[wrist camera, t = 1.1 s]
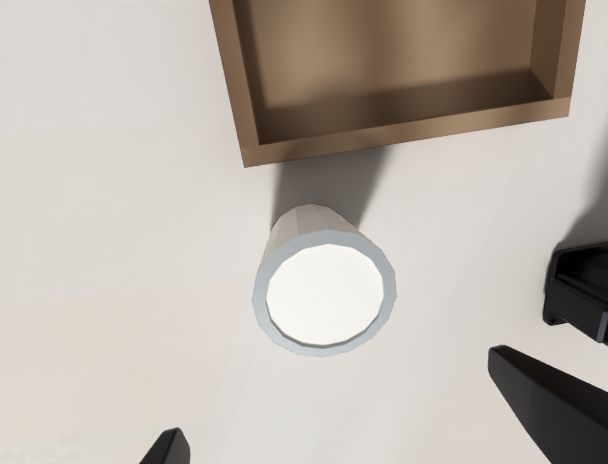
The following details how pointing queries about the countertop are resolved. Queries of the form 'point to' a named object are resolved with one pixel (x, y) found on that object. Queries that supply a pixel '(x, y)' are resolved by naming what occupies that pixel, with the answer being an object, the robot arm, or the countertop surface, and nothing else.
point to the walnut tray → (390, 70)
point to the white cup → (321, 284)
